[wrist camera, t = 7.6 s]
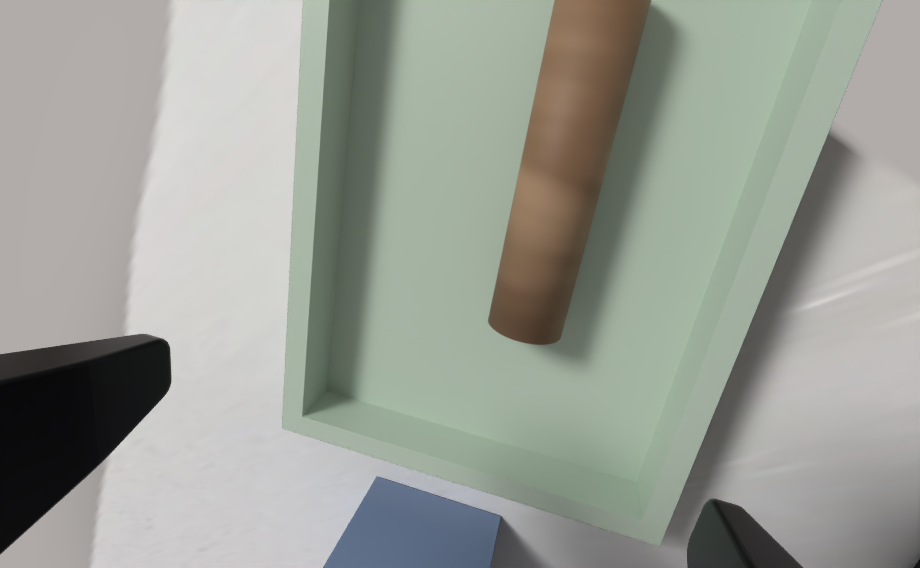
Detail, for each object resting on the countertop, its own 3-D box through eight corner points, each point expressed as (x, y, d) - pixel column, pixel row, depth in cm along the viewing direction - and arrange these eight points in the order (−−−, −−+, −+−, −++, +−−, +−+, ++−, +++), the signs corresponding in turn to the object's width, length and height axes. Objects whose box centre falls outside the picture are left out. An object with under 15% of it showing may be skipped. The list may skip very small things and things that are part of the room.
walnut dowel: (482, 247, 20) (619, -42, 14) (564, 356, 16) (792, 34, 10) (431, 248, 18) (556, -72, 12) (508, 367, 15) (733, 4, 9)
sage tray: (937, -262, 11) (1029, -362, 9) (650, 494, 19) (659, 546, 16) (365, -286, 13) (320, -370, 11) (315, 395, 21) (281, 428, 19)
